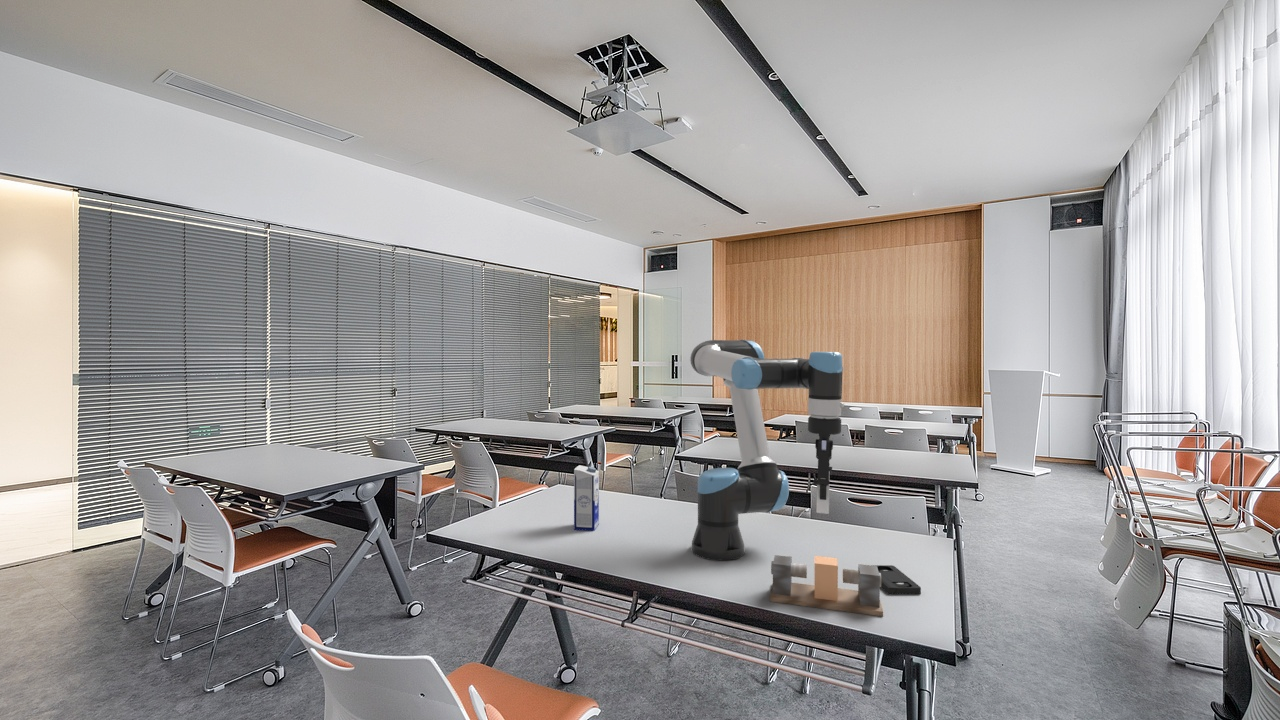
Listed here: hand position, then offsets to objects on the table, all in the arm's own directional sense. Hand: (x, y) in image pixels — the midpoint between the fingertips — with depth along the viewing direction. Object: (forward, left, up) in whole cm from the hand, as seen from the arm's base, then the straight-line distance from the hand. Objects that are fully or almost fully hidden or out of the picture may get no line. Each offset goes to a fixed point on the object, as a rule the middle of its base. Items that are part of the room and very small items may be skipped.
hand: (823, 504), depth 133 cm
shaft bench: (0, -4, -21) cm, 21 cm away
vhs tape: (+16, +11, -22) cm, 29 cm away
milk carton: (-74, +29, -21) cm, 82 cm away
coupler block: (+1, -4, -20) cm, 20 cm away
